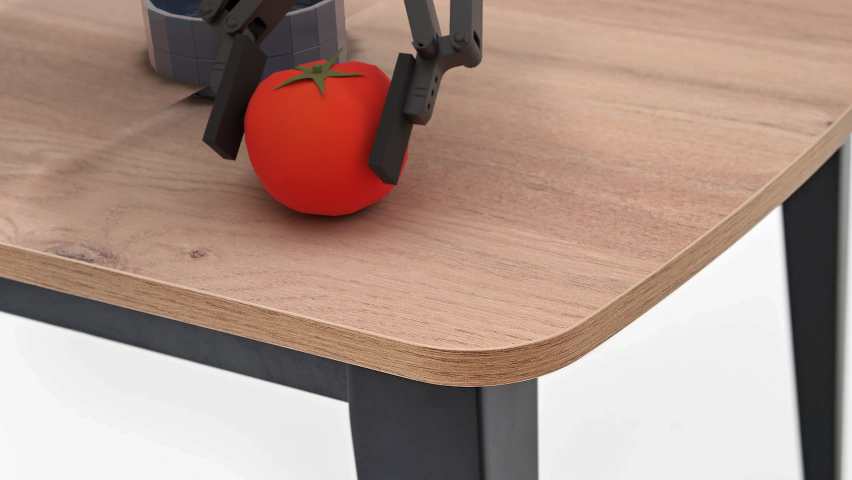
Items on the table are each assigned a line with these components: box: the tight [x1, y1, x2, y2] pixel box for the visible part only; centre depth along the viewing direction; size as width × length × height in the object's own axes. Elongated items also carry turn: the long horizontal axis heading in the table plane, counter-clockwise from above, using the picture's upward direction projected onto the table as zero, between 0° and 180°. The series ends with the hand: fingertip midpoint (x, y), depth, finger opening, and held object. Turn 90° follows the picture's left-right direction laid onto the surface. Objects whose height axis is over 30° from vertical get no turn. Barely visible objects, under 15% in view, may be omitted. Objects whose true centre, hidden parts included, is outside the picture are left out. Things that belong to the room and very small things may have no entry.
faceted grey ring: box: [140, 0, 349, 100], centre depth 88 cm, size 14×14×6 cm
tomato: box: [243, 47, 410, 217], centre depth 68 cm, size 9×10×8 cm
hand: (298, 162), depth 66 cm, fingers closed on tomato, 9 cm apart
